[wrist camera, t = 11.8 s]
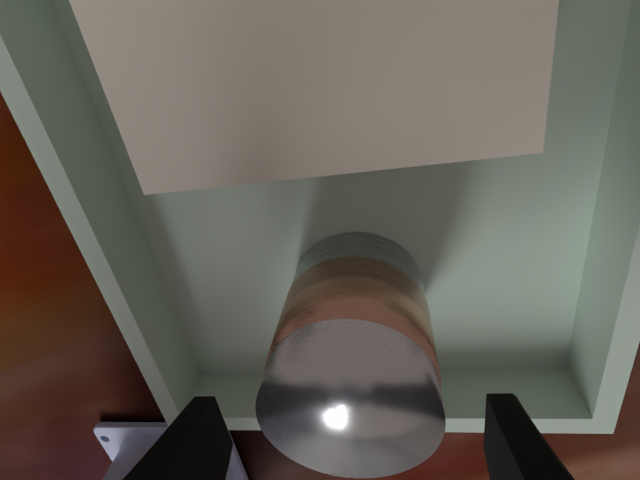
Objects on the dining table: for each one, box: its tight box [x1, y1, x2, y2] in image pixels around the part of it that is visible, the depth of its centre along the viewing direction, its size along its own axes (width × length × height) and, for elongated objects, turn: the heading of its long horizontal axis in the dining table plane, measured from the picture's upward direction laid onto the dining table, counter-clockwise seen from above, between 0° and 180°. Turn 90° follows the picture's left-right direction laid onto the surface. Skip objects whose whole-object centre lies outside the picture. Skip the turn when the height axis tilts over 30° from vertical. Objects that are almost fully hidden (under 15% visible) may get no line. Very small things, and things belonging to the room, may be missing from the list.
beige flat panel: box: [69, 0, 559, 195], centre depth 10 cm, size 6×10×4 cm, turn 99°
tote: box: [0, 0, 640, 434], centre depth 13 cm, size 20×18×3 cm
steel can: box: [255, 232, 446, 478], centre depth 13 cm, size 5×5×6 cm
